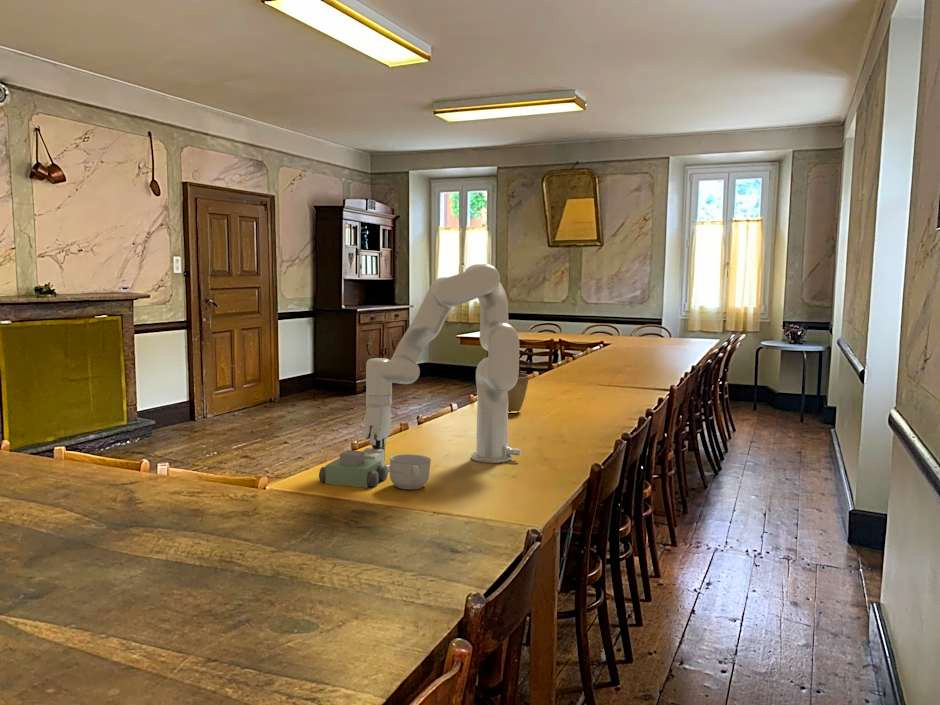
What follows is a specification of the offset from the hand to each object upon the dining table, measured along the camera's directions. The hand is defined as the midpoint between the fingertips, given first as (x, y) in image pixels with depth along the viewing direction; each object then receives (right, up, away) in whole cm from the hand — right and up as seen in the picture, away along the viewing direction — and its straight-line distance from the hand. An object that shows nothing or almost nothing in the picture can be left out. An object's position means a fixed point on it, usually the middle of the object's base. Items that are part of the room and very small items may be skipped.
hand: (378, 461), depth 213 cm
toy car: (-4, -2, -13) cm, 14 cm away
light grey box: (-1, -2, -6) cm, 6 cm away
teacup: (+11, -4, -23) cm, 26 cm away
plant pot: (+44, +7, +89) cm, 100 cm away
